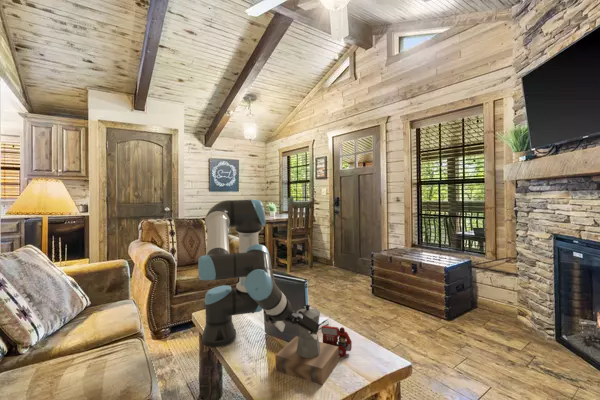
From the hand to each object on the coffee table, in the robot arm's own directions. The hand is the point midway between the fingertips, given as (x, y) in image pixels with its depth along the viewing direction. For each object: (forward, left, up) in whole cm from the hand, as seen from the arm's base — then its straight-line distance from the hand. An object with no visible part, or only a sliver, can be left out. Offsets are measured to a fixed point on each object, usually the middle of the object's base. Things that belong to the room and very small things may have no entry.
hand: (299, 331), depth 106 cm
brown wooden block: (0, +7, -16) cm, 18 cm away
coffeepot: (0, +7, -11) cm, 13 cm away
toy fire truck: (+6, +21, -17) cm, 28 cm away
